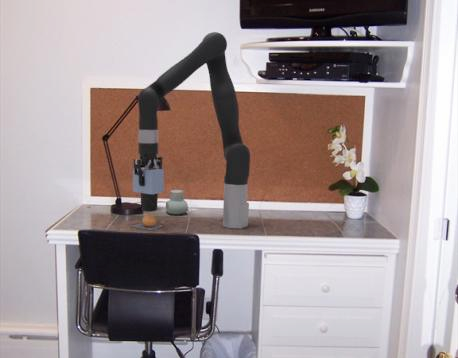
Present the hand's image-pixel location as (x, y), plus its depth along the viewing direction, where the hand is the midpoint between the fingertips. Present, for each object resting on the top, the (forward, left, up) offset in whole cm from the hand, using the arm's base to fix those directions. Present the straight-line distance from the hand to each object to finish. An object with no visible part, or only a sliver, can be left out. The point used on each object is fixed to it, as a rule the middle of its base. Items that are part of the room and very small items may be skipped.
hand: (148, 184), depth 196 cm
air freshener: (+6, -26, -17) cm, 31 cm away
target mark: (0, 0, -16) cm, 16 cm away
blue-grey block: (0, 0, -3) cm, 3 cm away
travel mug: (+20, -24, -17) cm, 35 cm away
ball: (-1, 0, -14) cm, 14 cm away
